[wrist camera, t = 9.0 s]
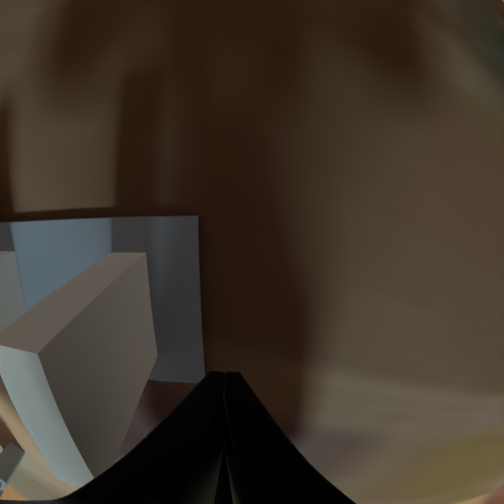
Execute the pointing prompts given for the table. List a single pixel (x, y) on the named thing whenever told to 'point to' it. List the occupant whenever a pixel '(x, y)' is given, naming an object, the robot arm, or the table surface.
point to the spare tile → (83, 365)
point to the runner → (123, 240)
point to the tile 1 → (10, 290)
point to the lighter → (9, 463)
